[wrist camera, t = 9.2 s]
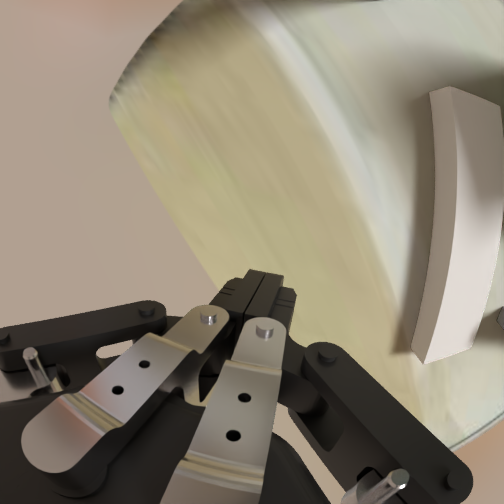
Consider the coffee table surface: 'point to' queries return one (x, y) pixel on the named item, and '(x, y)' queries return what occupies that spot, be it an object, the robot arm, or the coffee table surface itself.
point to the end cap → (501, 318)
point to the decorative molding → (461, 222)
